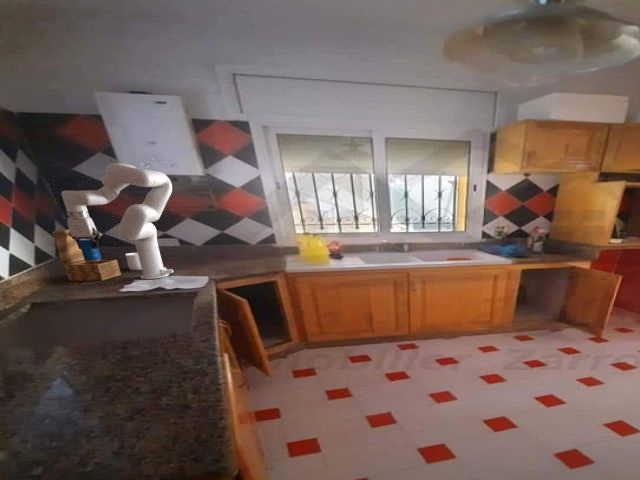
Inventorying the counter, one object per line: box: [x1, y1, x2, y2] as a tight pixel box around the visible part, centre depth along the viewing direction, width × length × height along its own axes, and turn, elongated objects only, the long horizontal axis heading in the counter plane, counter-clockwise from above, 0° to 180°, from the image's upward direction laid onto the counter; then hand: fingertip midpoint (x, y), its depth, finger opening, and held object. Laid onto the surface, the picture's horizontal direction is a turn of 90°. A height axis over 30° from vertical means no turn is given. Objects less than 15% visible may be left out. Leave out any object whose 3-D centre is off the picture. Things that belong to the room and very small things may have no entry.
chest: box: [63, 259, 122, 282], centre depth 177 cm, size 17×13×9 cm
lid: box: [51, 229, 85, 265], centre depth 172 cm, size 17×13×5 cm
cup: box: [124, 252, 142, 271], centre depth 198 cm, size 10×10×10 cm
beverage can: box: [79, 238, 102, 262], centre depth 174 cm, size 6×6×12 cm
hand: (89, 248), depth 173 cm, fingers closed on beverage can, 6 cm apart
